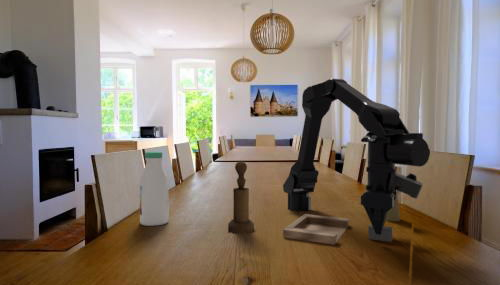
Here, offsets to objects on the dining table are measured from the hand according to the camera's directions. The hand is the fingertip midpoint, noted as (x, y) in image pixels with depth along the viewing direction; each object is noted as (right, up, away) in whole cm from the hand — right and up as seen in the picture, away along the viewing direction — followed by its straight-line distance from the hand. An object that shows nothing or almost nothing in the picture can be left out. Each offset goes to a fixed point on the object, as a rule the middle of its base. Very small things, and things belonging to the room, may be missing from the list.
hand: (380, 230), depth 77 cm
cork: (+10, -3, +19) cm, 21 cm away
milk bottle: (-57, -3, +17) cm, 59 cm away
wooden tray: (-13, -3, +7) cm, 15 cm away
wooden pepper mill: (-32, -3, +8) cm, 33 cm away
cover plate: (0, -4, 0) cm, 4 cm away
